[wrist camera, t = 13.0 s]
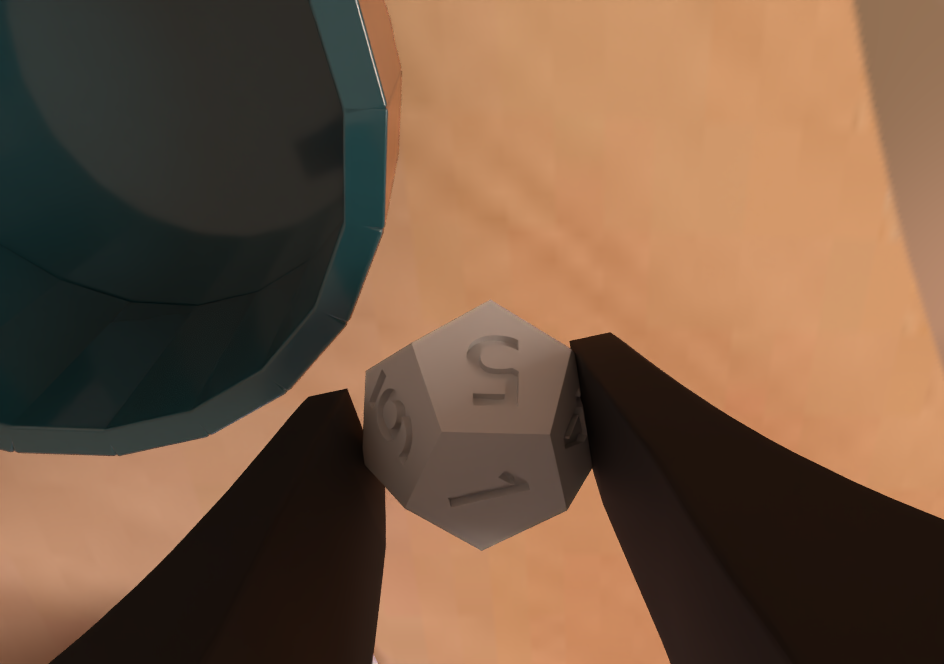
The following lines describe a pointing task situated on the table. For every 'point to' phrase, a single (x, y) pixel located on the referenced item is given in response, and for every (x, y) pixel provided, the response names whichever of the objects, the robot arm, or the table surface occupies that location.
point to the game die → (478, 426)
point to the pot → (182, 208)
